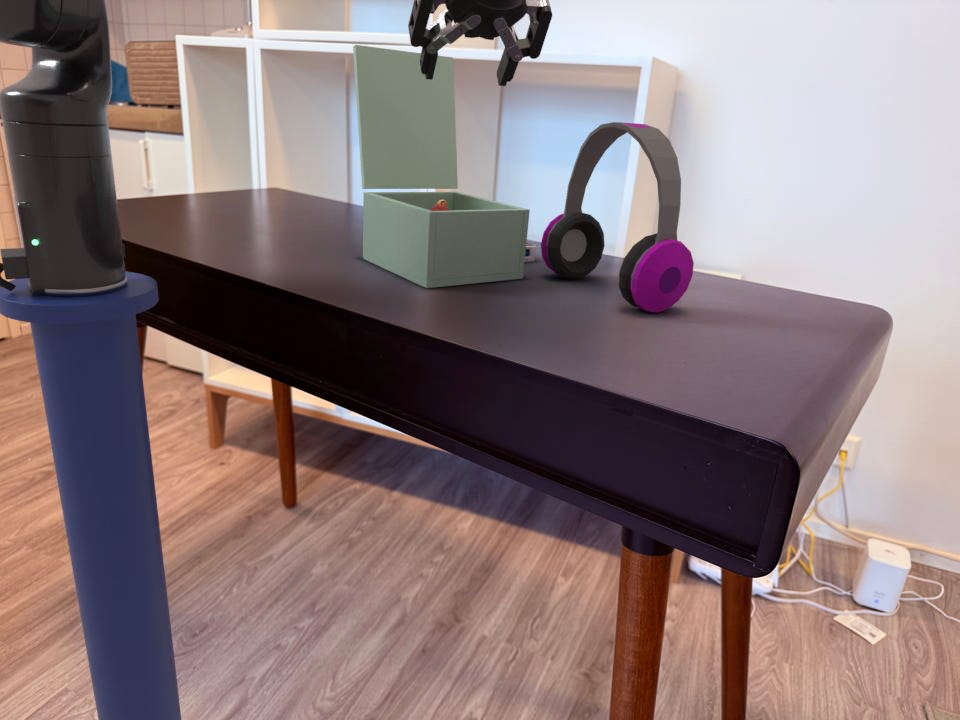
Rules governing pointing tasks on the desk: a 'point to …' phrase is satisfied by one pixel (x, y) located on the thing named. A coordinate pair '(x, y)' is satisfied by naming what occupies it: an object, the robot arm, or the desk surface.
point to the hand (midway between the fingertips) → (464, 77)
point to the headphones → (650, 262)
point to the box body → (444, 237)
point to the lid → (405, 120)
